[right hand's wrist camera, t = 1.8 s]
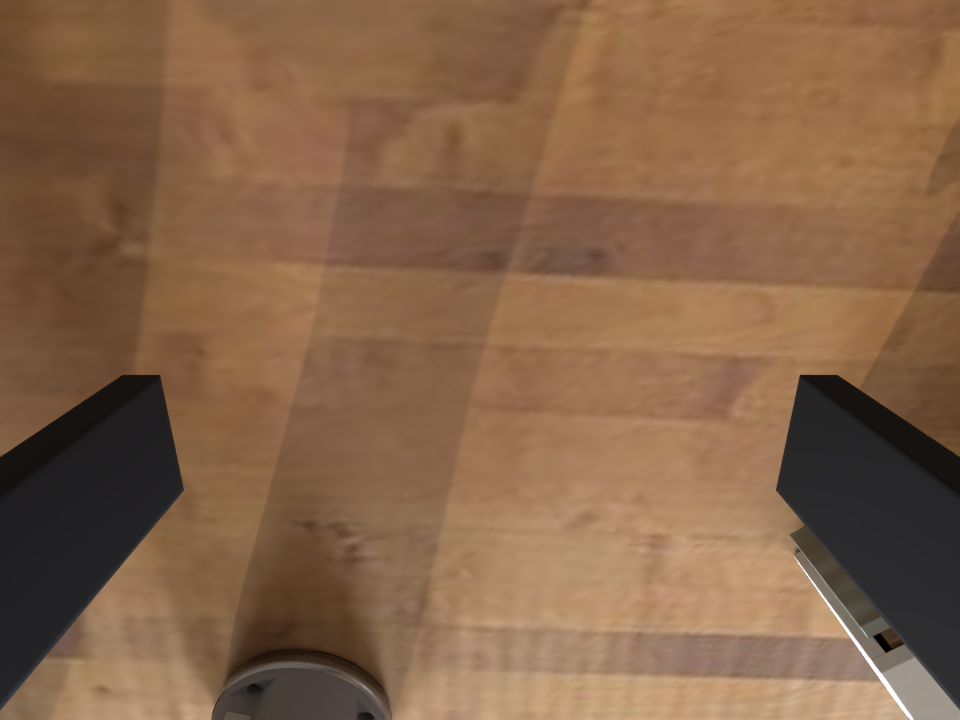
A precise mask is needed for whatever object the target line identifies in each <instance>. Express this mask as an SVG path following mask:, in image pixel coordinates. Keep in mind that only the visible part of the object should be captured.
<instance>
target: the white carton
mask: <svg viewBox="0 0 960 720" xmlns="http://www.w3.org/2000/svg"><path fill="white" fill-rule="evenodd" d="M793 556H794V557H795V559H796V560H797V561H798V563H799V564H800V566H801V567H802V569H803V570H804V571H805V573H806V574H807V576H808V577H809V579H810V580H811V581H812V583H813V584H814V586H815V587H816V589H817V590H818V591H819V593H820V594H821V596H822V597H823V598H824V600H825V601H826V603H827V604H828V606H829V607H830V608H831V610H832V611H833V613H834V614H835V616H836V617H837V618H838V620H839V621H840V623H841V624H842V626H843V627H844V628H845V630H846V631H847V633H848V634H849V636H850V637H851V638H852V640H853V641H854V643H855V644H856V646H857V647H858V648H859V650H860V651H861V653H862V654H863V655H864V657H865V658H866V660H867V661H868V663H869V664H870V665H871V667H872V668H873V670H874V671H875V673H876V674H877V675H878V677H879V678H880V680H881V681H882V682H883V684H884V685H885V686H886V688H887V689H888V691H889V692H890V693H891V695H892V696H893V697H894V699H895V700H896V702H897V703H898V704H899V706H900V707H901V708H902V710H903V711H904V712H905V714H906V715H907V717H908V718H909V719H910V720H960V710H959V709H958V708H957V706H956V705H955V704H954V703H953V702H952V700H951V699H950V698H949V697H948V696H947V694H946V693H945V692H944V691H943V690H942V688H941V687H940V686H939V685H938V684H937V682H936V681H935V680H934V679H933V678H932V676H931V675H930V674H929V673H928V672H927V670H926V669H925V668H924V667H923V666H922V664H921V663H920V662H919V661H918V660H917V658H916V657H915V656H914V655H913V654H912V652H911V651H910V650H909V649H908V648H907V646H906V645H905V644H904V645H902V646H900V647H898V648H896V649H894V650H892V651H889V652H887V653H885V651H884V650H883V649H882V647H881V646H880V645H879V643H878V642H877V640H876V639H875V637H874V636H872V637H870V638H867V637H866V636H865V634H864V633H863V632H862V630H861V629H860V628H859V626H858V625H857V624H856V622H855V621H854V620H853V619H852V617H851V616H850V615H849V613H848V612H847V611H846V609H845V608H844V607H843V606H842V604H841V603H840V602H839V600H838V599H837V598H836V596H835V595H834V594H833V592H832V591H831V590H830V589H829V587H828V586H827V585H826V583H825V582H824V581H823V579H822V578H821V577H820V575H819V574H818V573H817V572H816V570H815V569H814V568H813V566H812V565H811V564H810V562H809V561H808V560H807V558H806V557H805V556H804V555H803V553H802V552H801V551H799V552H797V553H796V554H794V555H793Z"/></svg>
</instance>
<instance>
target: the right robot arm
mask: <svg viewBox="0 0 960 720" xmlns="http://www.w3.org/2000/svg"><path fill="white" fill-rule="evenodd" d="M183 491H184V488H183V483H182V479H181V474H180V469H179V464H178V459H177V454H176V450H175V445H174V440H173V435H172V430H171V426H170V421H169V416H168V411H167V406H166V401H165V397H164V392H163V387H162V382H161V377H160V375H122V376H120V377H119V378H117V379H116V380H115V381H113V382H112V383H110V384H109V385H107V386H106V387H104V388H103V389H101V390H100V391H98V392H97V393H95V394H94V395H92V396H91V397H89V398H88V399H86V400H85V401H83V402H82V403H80V404H79V405H77V406H76V407H74V408H73V409H71V410H70V411H68V412H67V413H65V414H64V415H62V416H61V417H59V418H58V419H56V420H55V421H53V422H52V423H50V424H49V425H47V426H46V427H44V428H43V429H41V430H40V431H38V432H37V433H35V434H34V435H33V436H31V437H30V438H28V439H27V440H25V441H24V442H22V443H21V444H19V445H18V446H16V447H15V448H13V449H12V450H10V451H9V452H7V453H6V454H4V455H3V456H1V457H0V710H1V709H2V708H3V706H4V705H5V704H6V703H7V702H8V700H9V699H10V698H11V697H12V696H13V694H14V693H15V692H16V691H17V690H18V688H19V687H20V686H21V685H22V684H23V682H24V681H25V680H26V679H27V678H28V676H29V675H30V674H31V673H32V672H33V670H34V669H35V668H36V667H37V666H38V664H39V663H40V662H41V661H42V660H43V658H44V657H45V656H46V655H47V654H48V652H49V651H50V650H51V649H52V648H53V646H54V645H55V644H56V643H57V642H58V640H59V639H60V638H61V637H62V636H63V635H64V633H65V632H66V631H67V630H68V629H69V627H70V626H71V625H72V624H73V623H74V621H75V620H76V619H77V618H78V617H79V615H80V614H81V613H82V612H83V611H84V609H85V608H86V607H87V606H88V605H89V603H90V602H91V601H92V600H93V599H94V597H95V596H96V595H97V594H98V593H99V591H100V590H101V589H102V588H103V587H104V585H105V584H106V583H107V582H108V581H109V579H110V578H111V577H112V576H113V575H114V573H115V572H116V571H117V570H118V569H119V567H120V566H121V565H122V564H123V563H124V561H125V560H126V559H127V558H128V557H129V555H130V554H131V553H132V552H133V551H134V549H135V548H136V547H137V546H138V545H139V543H140V542H141V541H142V540H143V539H144V537H145V536H146V535H147V534H148V533H149V531H150V530H151V529H152V528H153V527H154V525H155V524H156V523H157V522H158V521H159V519H160V518H161V517H162V516H163V515H164V513H165V512H166V511H167V510H168V509H169V507H170V506H171V505H172V504H173V503H174V501H175V500H176V499H177V498H178V497H179V495H180V494H181V493H182V492H183ZM776 491H777V492H778V493H779V494H780V495H781V497H782V498H783V499H784V500H785V501H786V503H787V504H788V505H789V506H790V507H791V509H792V510H793V511H794V512H795V513H796V515H797V516H798V517H799V518H800V519H801V521H802V522H803V523H804V524H805V525H806V527H807V528H808V529H809V530H810V531H811V533H812V534H813V535H814V536H815V537H816V539H817V540H818V541H819V542H820V543H821V545H822V546H823V547H824V548H825V549H826V551H827V552H828V553H829V554H830V555H831V557H832V558H833V559H834V560H835V561H836V563H837V564H838V565H839V566H840V567H841V569H842V570H843V571H844V572H845V573H846V575H847V576H848V577H849V578H850V579H851V581H852V582H853V583H854V584H855V585H856V587H857V588H858V589H859V590H860V591H861V593H862V594H863V595H864V596H865V597H866V599H867V600H868V601H869V602H870V603H871V605H872V606H873V607H874V608H875V609H876V611H877V612H878V613H879V614H880V615H881V617H882V618H883V619H884V620H885V621H886V623H887V624H888V625H889V626H890V627H891V629H892V630H893V631H894V632H895V633H896V635H897V636H898V637H899V638H900V639H901V640H902V642H903V643H904V644H905V645H906V646H907V648H908V649H909V650H910V651H911V652H912V654H913V655H914V656H915V657H916V658H917V660H918V661H919V662H920V663H921V664H922V666H923V667H924V668H925V669H926V670H927V672H928V673H929V674H930V675H931V676H932V678H933V679H934V680H935V681H936V682H937V684H938V685H939V686H940V687H941V688H942V690H943V691H944V692H945V693H946V694H947V696H948V697H949V698H950V699H951V700H952V702H953V703H954V704H955V705H956V706H957V708H958V709H959V710H960V457H959V456H957V455H956V454H954V453H953V452H951V451H950V450H948V449H947V448H945V447H944V446H942V445H941V444H939V443H938V442H936V441H935V440H933V439H932V438H930V437H929V436H927V435H926V434H925V433H923V432H922V431H920V430H919V429H917V428H916V427H914V426H913V425H911V424H910V423H908V422H907V421H905V420H904V419H902V418H901V417H899V416H898V415H896V414H895V413H893V412H892V411H890V410H889V409H887V408H886V407H884V406H883V405H881V404H880V403H878V402H877V401H875V400H874V399H872V398H871V397H869V396H868V395H866V394H865V393H863V392H862V391H860V390H859V389H857V388H856V387H854V386H853V385H851V384H850V383H848V382H847V381H845V380H844V379H843V378H841V377H840V376H838V375H800V377H799V382H798V387H797V392H796V397H795V401H794V406H793V411H792V416H791V421H790V426H789V430H788V435H787V440H786V445H785V450H784V454H783V459H782V464H781V469H780V474H779V479H778V483H777V488H776ZM391 719H392V717H391V709H390V705H389V702H388V700H387V698H386V696H385V694H384V692H383V691H382V689H381V688H380V686H379V685H378V684H377V683H376V682H375V681H374V680H373V679H372V678H371V677H370V676H369V675H368V674H367V673H365V672H364V671H362V670H361V669H360V668H358V667H356V666H355V665H353V664H351V663H349V662H347V661H345V660H342V659H340V658H337V657H334V656H331V655H328V654H324V653H319V652H313V651H302V650H290V651H280V652H274V653H270V654H266V655H263V656H260V657H257V658H255V659H253V660H251V661H249V662H247V663H245V664H244V665H242V666H241V667H240V668H238V669H237V670H236V671H235V672H234V673H233V674H232V675H231V676H230V677H229V679H228V680H227V682H226V683H225V685H224V687H223V689H222V691H221V694H220V696H219V698H218V700H217V702H216V704H215V707H214V710H213V713H212V720H391Z"/></svg>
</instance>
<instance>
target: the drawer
mask: <svg viewBox="0 0 960 720" xmlns="http://www.w3.org/2000/svg"><path fill="white" fill-rule="evenodd" d="M790 537H791V538H792V540H793V541H794V543H795V544H796V545H797V547H798V548H799V549H800V551H801V552H802V553H803V555H804V556H805V557H806V558H807V560H808V561H809V562H810V564H811V565H812V566H813V568H814V569H815V570H816V572H817V573H818V574H819V575H820V577H821V578H822V579H823V581H824V582H825V583H826V585H827V586H828V587H829V589H830V590H831V591H832V592H833V594H834V595H835V596H836V598H837V599H838V600H839V602H840V603H841V604H842V606H843V607H844V608H845V609H846V611H847V612H848V613H849V615H850V616H851V617H852V619H853V620H854V621H855V622H856V624H857V625H858V626H859V628H860V629H861V630H862V632H863V633H864V634H865V636H866V637H867V638H870V637H872V636H874V637H875V639H876V640H877V642H878V643H879V645H880V646H881V647H882V649H883V650H884V651H885V653H887V652H889V651H892V650H894V649H896V648H898V647H900V646H902V645H904V643H903V642H902V640H901V639H900V638H899V637H898V636H897V635H896V633H895V632H894V631H893V630H892V629H891V627H890V626H889V625H888V624H887V623H886V621H885V620H884V619H883V618H882V617H881V615H880V614H879V613H878V612H877V611H876V609H875V608H874V607H873V606H872V605H871V603H870V602H869V601H868V600H867V599H866V597H865V596H864V595H863V594H862V593H861V591H860V590H859V589H858V588H857V587H856V585H855V584H854V583H853V582H852V581H851V579H850V578H849V577H848V576H847V575H846V573H845V572H844V571H843V570H842V569H841V567H840V566H839V565H838V564H837V563H836V561H835V560H834V559H833V558H832V557H831V555H830V554H829V553H828V552H827V551H826V549H825V548H824V547H823V546H822V545H821V543H820V542H819V541H818V540H817V539H816V537H815V536H814V535H813V534H812V533H811V531H810V530H809V529H808V528H807V527H806V526H804V527H803V528H801V529H799V530H797V531H795V532H793V533H792V534H790Z"/></svg>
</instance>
